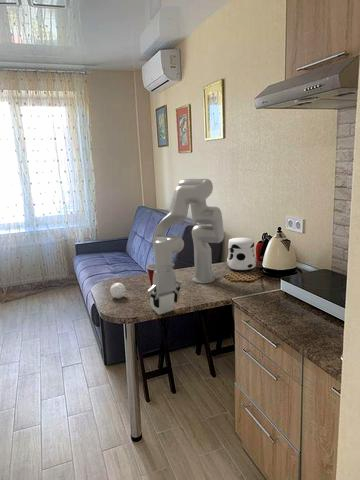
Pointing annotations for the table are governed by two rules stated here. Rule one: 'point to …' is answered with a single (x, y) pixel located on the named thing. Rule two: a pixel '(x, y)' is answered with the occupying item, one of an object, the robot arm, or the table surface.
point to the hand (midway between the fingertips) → (165, 304)
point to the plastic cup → (151, 272)
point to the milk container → (241, 254)
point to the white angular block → (163, 303)
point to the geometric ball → (117, 290)
